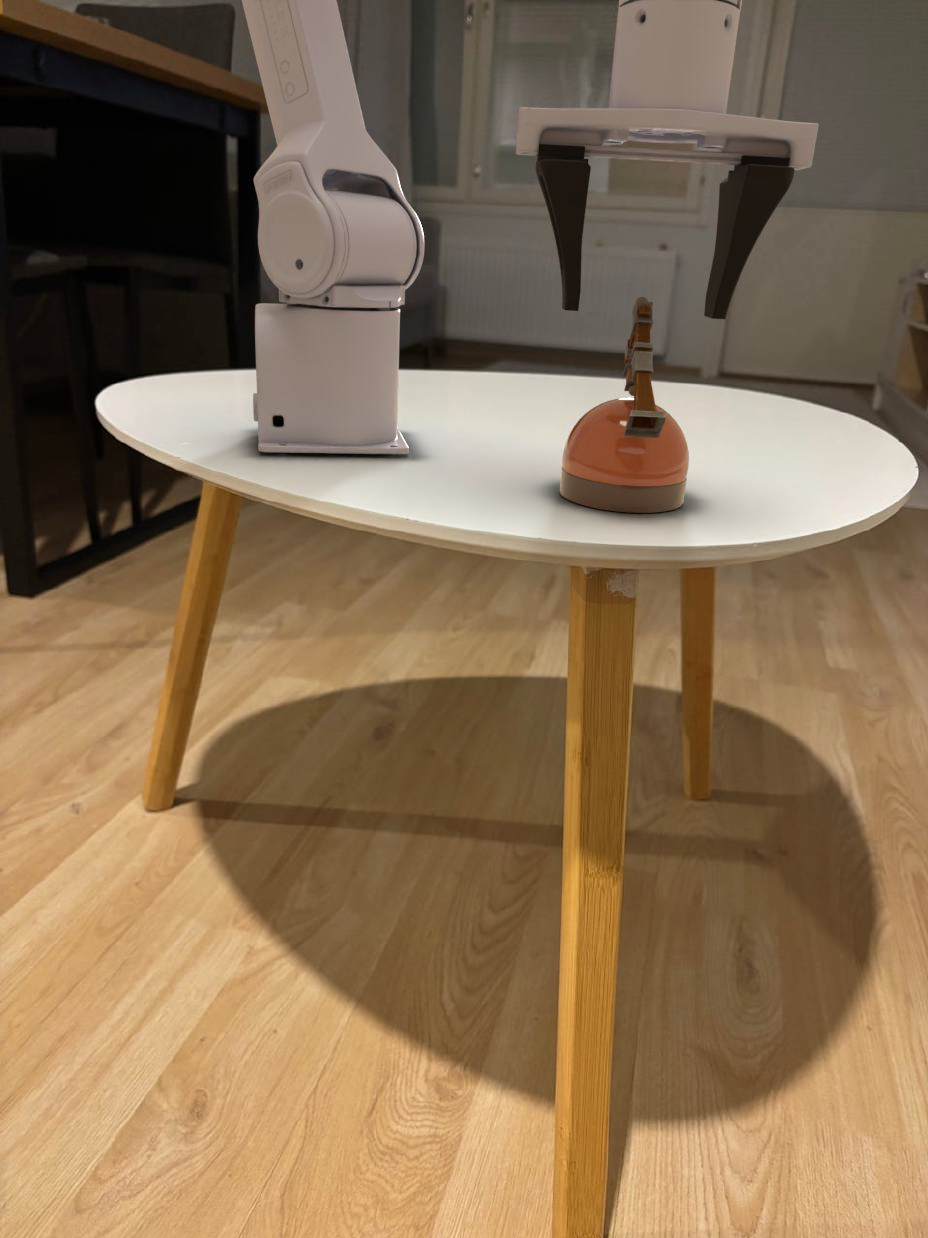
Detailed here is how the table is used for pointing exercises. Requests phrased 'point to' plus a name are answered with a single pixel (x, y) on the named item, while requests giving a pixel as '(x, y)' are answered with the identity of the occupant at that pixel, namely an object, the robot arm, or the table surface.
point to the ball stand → (623, 463)
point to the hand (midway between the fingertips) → (642, 313)
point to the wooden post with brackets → (641, 375)
